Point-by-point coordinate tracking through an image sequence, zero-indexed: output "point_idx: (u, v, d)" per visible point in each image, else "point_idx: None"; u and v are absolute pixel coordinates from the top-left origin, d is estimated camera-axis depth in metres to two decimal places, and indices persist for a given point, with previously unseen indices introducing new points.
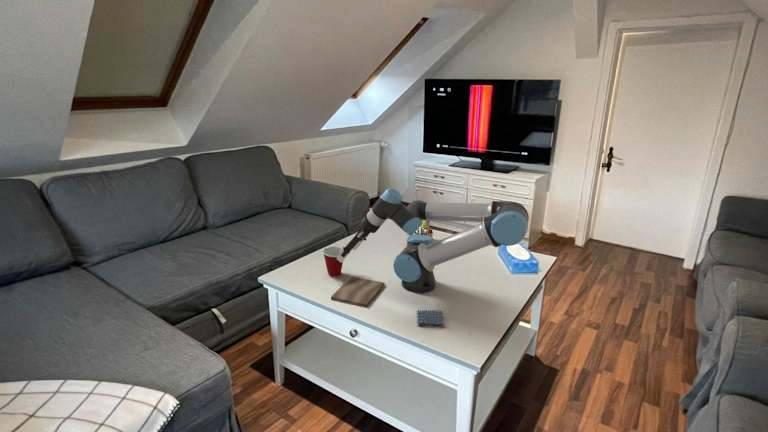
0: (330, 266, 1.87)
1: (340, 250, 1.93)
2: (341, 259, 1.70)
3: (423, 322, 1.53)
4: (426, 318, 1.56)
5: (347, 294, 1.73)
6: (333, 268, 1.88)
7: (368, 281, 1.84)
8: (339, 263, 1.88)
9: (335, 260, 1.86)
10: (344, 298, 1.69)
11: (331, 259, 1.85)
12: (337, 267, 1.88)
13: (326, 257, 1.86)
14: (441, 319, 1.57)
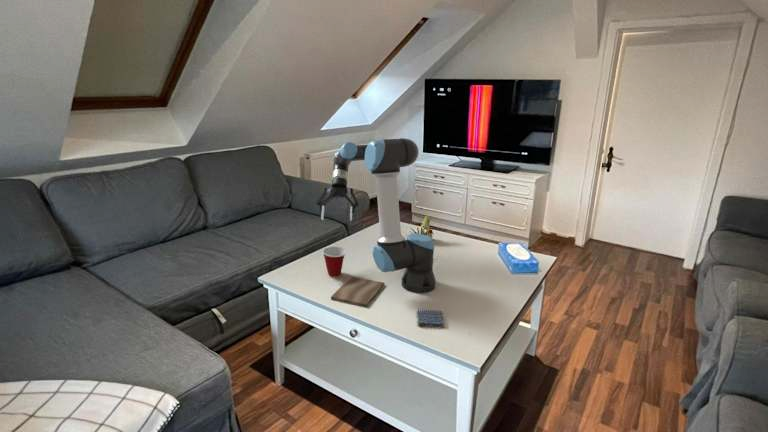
0: (330, 266, 1.87)
1: (340, 250, 1.93)
2: None
3: (423, 322, 1.53)
4: (426, 318, 1.56)
5: (347, 294, 1.73)
6: (333, 268, 1.88)
7: (368, 281, 1.84)
8: (339, 263, 1.88)
9: (335, 260, 1.86)
10: (344, 298, 1.69)
11: (331, 259, 1.85)
12: (337, 267, 1.88)
13: (326, 257, 1.86)
14: (441, 319, 1.57)
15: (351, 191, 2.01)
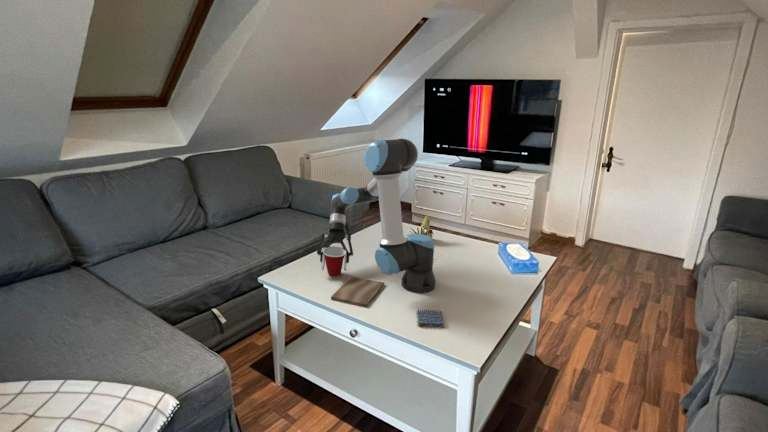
0: (330, 266, 1.87)
1: (340, 250, 1.93)
2: (322, 265, 1.88)
3: (423, 322, 1.53)
4: (426, 318, 1.56)
5: (347, 294, 1.73)
6: (333, 268, 1.88)
7: (368, 281, 1.84)
8: (339, 263, 1.87)
9: (335, 260, 1.86)
10: (344, 298, 1.69)
11: (331, 259, 1.85)
12: (337, 267, 1.88)
13: (326, 257, 1.86)
14: (441, 319, 1.57)
15: (348, 237, 1.94)
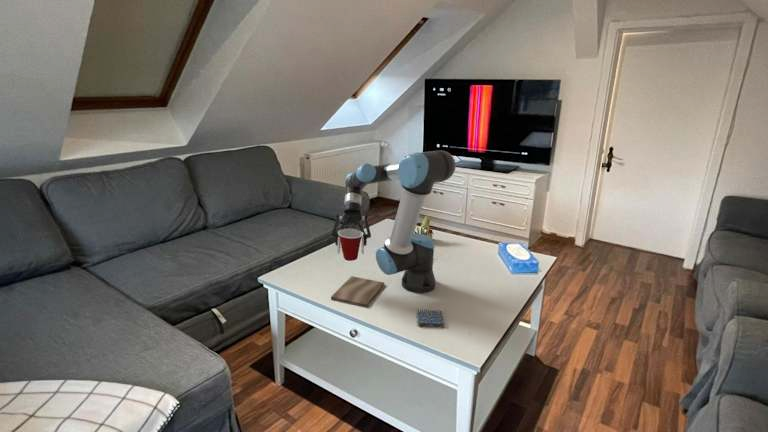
0: (346, 249, 1.72)
1: (356, 232, 1.78)
2: None
3: (423, 322, 1.53)
4: (426, 318, 1.56)
5: (347, 294, 1.73)
6: (350, 251, 1.72)
7: (368, 281, 1.84)
8: (356, 245, 1.72)
9: (352, 242, 1.70)
10: (344, 298, 1.69)
11: (347, 241, 1.70)
12: (354, 250, 1.72)
13: (342, 239, 1.71)
14: (441, 319, 1.57)
15: (365, 218, 1.79)
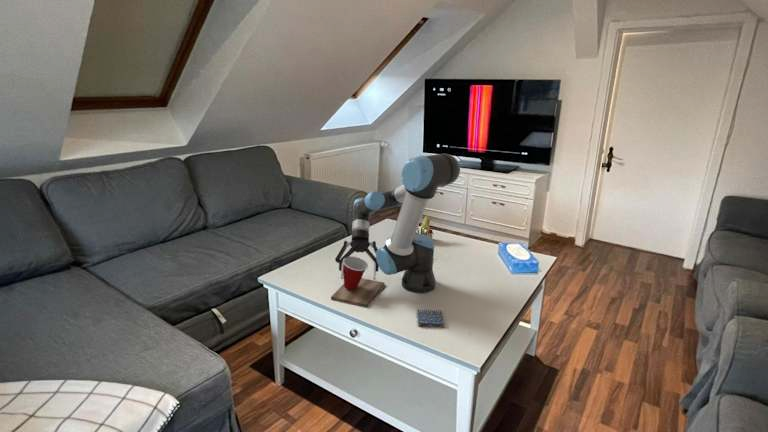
0: (349, 278, 1.72)
1: (360, 262, 1.78)
2: (341, 274, 1.73)
3: (423, 322, 1.53)
4: (426, 318, 1.56)
5: (347, 294, 1.73)
6: (352, 281, 1.73)
7: (368, 281, 1.84)
8: (359, 277, 1.73)
9: (356, 273, 1.71)
10: (344, 298, 1.69)
11: (352, 272, 1.70)
12: (356, 281, 1.73)
13: (346, 269, 1.71)
14: (441, 319, 1.57)
15: (374, 245, 1.78)
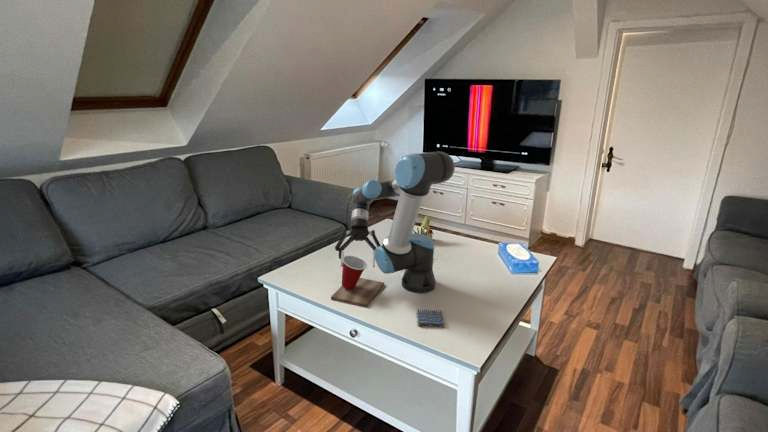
0: (347, 277, 1.73)
1: (360, 262, 1.79)
2: (341, 262, 1.76)
3: (423, 322, 1.53)
4: (426, 318, 1.56)
5: (347, 294, 1.73)
6: (350, 280, 1.73)
7: (368, 281, 1.84)
8: (357, 276, 1.73)
9: (354, 272, 1.71)
10: (344, 298, 1.69)
11: (351, 270, 1.71)
12: (354, 280, 1.74)
13: (345, 267, 1.71)
14: (441, 319, 1.57)
15: (373, 233, 1.81)
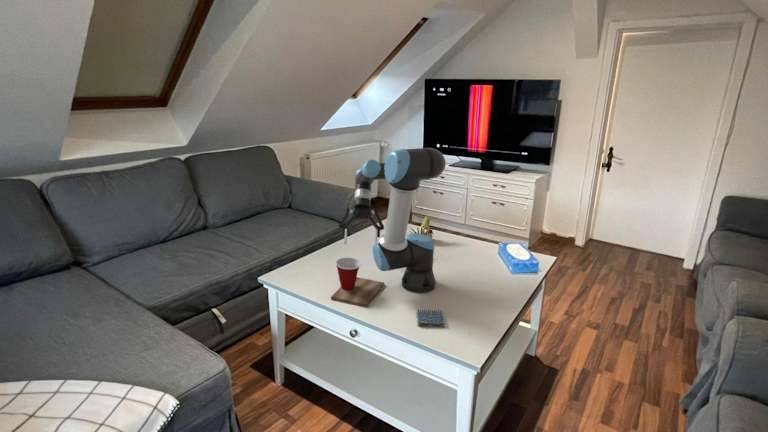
0: (344, 279, 1.73)
1: (354, 261, 1.79)
2: None
3: (423, 322, 1.53)
4: (426, 318, 1.56)
5: (347, 294, 1.73)
6: (347, 281, 1.73)
7: (368, 281, 1.84)
8: (353, 276, 1.73)
9: (349, 273, 1.71)
10: (344, 298, 1.69)
11: (345, 271, 1.71)
12: (351, 280, 1.74)
13: (339, 269, 1.72)
14: (441, 319, 1.57)
15: (375, 212, 1.87)
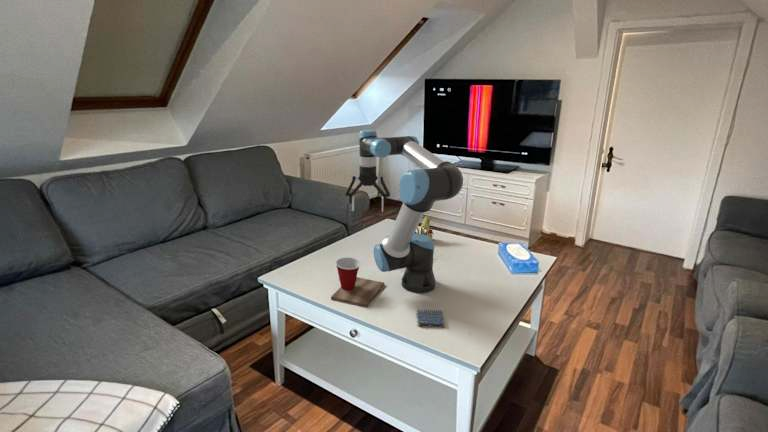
0: (344, 279, 1.73)
1: (354, 261, 1.79)
2: (352, 207, 1.90)
3: (423, 322, 1.53)
4: (426, 318, 1.56)
5: (347, 294, 1.73)
6: (347, 281, 1.73)
7: (368, 281, 1.84)
8: (353, 276, 1.73)
9: (349, 273, 1.71)
10: (344, 298, 1.69)
11: (345, 271, 1.71)
12: (351, 280, 1.74)
13: (339, 269, 1.72)
14: (441, 319, 1.57)
15: (381, 180, 1.85)
